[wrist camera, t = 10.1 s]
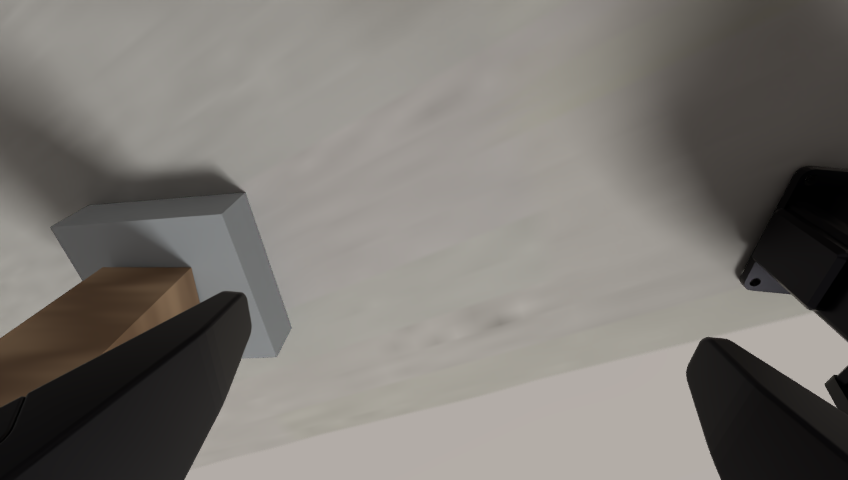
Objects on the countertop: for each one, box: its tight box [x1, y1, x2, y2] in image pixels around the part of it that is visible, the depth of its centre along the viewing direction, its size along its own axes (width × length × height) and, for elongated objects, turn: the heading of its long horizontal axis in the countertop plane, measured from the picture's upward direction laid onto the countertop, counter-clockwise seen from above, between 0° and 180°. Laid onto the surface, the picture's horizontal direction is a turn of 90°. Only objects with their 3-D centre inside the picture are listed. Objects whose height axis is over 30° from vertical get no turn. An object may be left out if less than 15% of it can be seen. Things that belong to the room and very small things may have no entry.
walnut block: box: [0, 267, 200, 407], centre depth 17 cm, size 4×4×13 cm
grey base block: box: [50, 192, 292, 358], centre depth 24 cm, size 9×9×3 cm
